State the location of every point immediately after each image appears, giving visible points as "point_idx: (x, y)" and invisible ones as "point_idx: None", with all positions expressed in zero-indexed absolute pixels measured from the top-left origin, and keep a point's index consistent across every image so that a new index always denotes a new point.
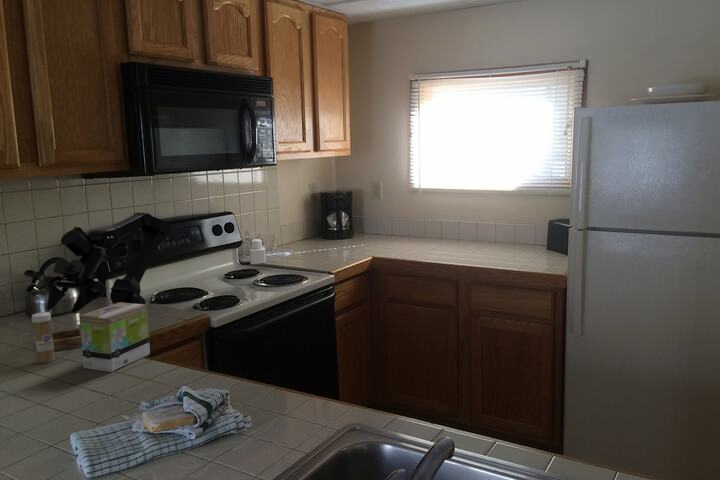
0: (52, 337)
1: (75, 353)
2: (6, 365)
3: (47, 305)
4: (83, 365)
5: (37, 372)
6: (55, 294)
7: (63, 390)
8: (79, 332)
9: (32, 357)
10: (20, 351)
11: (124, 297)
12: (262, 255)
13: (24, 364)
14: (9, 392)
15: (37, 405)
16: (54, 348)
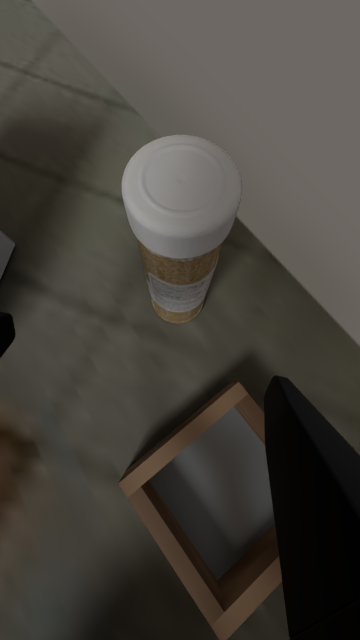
0: (148, 282)
1: (119, 376)
2: (276, 258)
3: (300, 395)
4: (10, 239)
5: None
6: (347, 589)
7: (5, 124)
8: (187, 555)
9: (247, 327)
10: (340, 383)
11: None
12: None
13: (226, 268)
14: (129, 111)
15: (24, 65)
16: (215, 396)
